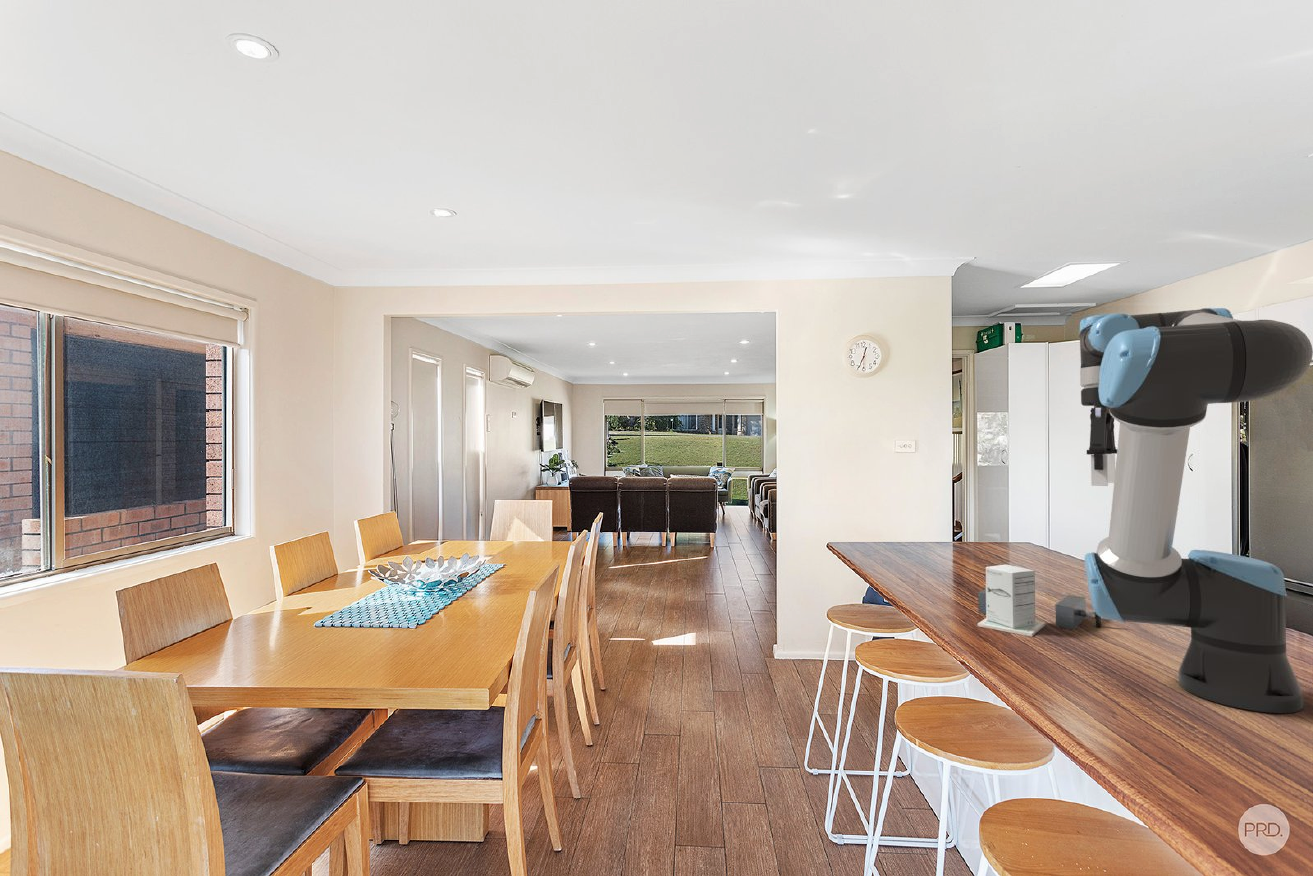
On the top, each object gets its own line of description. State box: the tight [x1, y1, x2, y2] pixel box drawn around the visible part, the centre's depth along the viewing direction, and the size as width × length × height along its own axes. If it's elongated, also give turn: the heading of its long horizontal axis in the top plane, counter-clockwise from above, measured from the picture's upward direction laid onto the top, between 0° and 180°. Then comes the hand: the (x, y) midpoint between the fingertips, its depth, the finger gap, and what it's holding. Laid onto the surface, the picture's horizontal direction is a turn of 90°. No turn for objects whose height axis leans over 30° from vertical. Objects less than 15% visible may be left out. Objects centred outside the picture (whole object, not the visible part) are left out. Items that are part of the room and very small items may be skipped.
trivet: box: [977, 617, 1046, 637], centre depth 142 cm, size 11×11×1 cm
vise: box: [977, 588, 1102, 631], centre depth 148 cm, size 12×24×5 cm, turn 45°
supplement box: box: [985, 564, 1036, 628], centre depth 141 cm, size 7×7×13 cm
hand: (1103, 484), depth 134 cm, fingers open, 13 cm apart
